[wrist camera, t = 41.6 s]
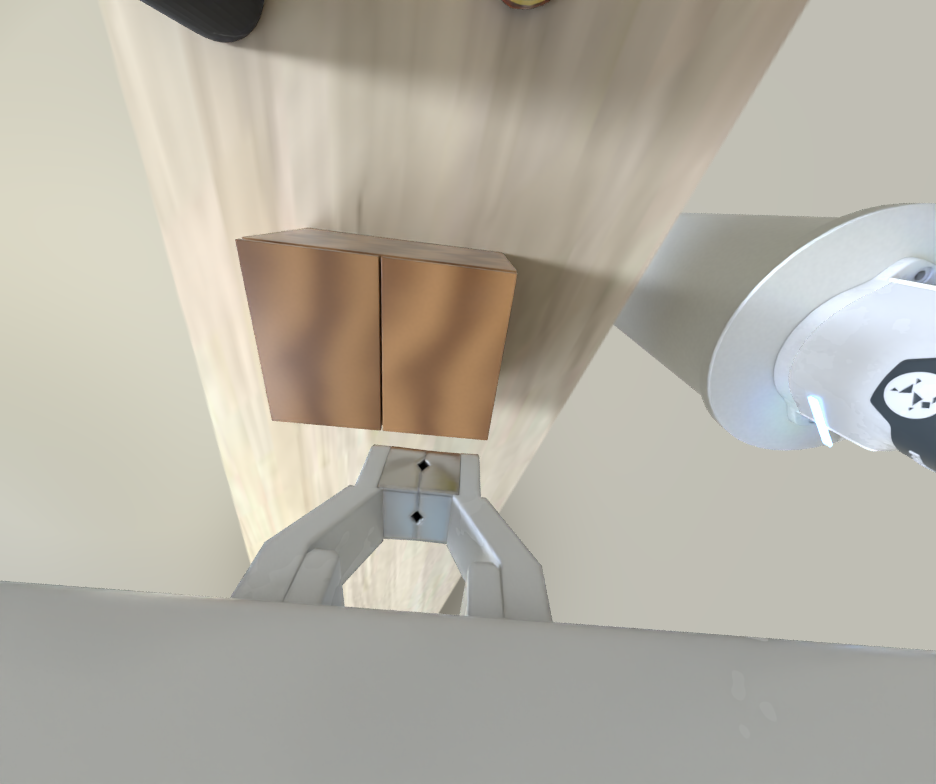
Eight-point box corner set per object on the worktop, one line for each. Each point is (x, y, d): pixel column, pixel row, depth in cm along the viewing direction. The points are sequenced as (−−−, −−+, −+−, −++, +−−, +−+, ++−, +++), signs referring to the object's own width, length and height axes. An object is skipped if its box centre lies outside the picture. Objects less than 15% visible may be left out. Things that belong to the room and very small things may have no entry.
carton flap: (516, 272, 21) (517, 273, 21) (487, 437, 27) (487, 440, 27) (382, 256, 20) (381, 257, 20) (383, 428, 27) (382, 430, 26)
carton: (502, 252, 30) (518, 273, 21) (482, 382, 36) (488, 441, 27) (306, 227, 28) (233, 237, 19) (321, 365, 35) (270, 421, 26)
